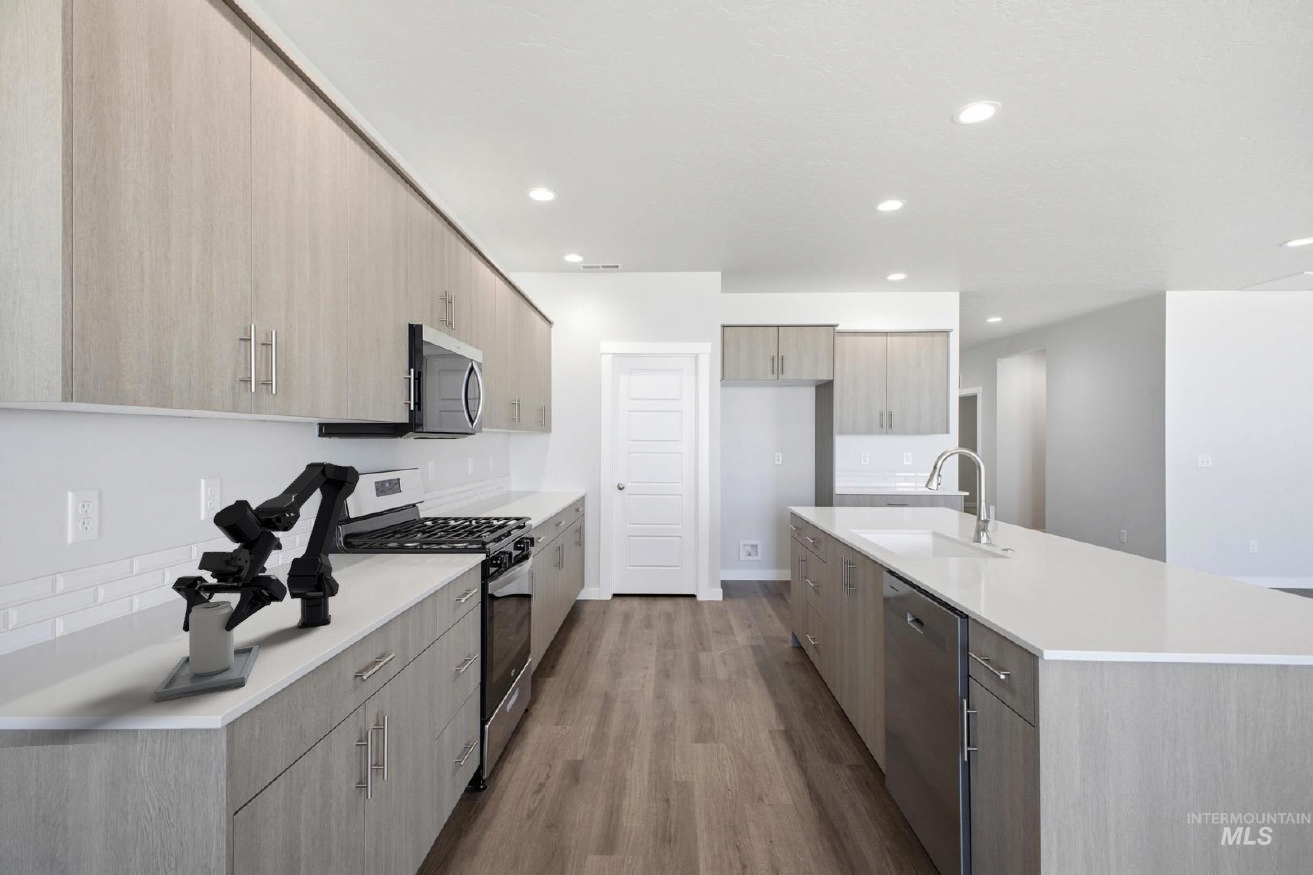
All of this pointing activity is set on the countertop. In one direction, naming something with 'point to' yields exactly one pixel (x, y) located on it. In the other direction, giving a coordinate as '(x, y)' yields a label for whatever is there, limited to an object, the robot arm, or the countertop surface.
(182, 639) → the countertop surface
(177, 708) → the countertop surface
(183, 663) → the tray
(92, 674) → the countertop surface
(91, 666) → the countertop surface
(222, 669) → the beverage can
